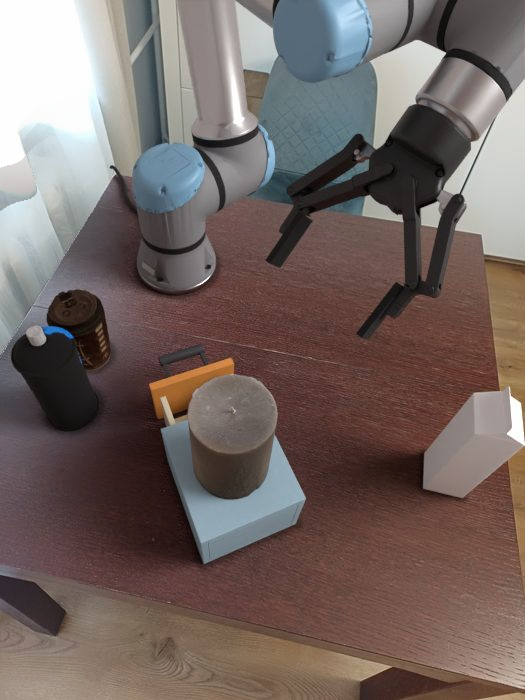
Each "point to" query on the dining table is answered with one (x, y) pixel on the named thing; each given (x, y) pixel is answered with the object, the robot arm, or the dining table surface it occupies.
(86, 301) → the coffee cup
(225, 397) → the pillar candle
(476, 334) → the dining table surface
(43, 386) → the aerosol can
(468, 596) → the dining table surface
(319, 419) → the dining table surface
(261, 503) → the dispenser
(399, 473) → the dining table surface
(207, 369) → the orange drawer
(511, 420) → the milk
